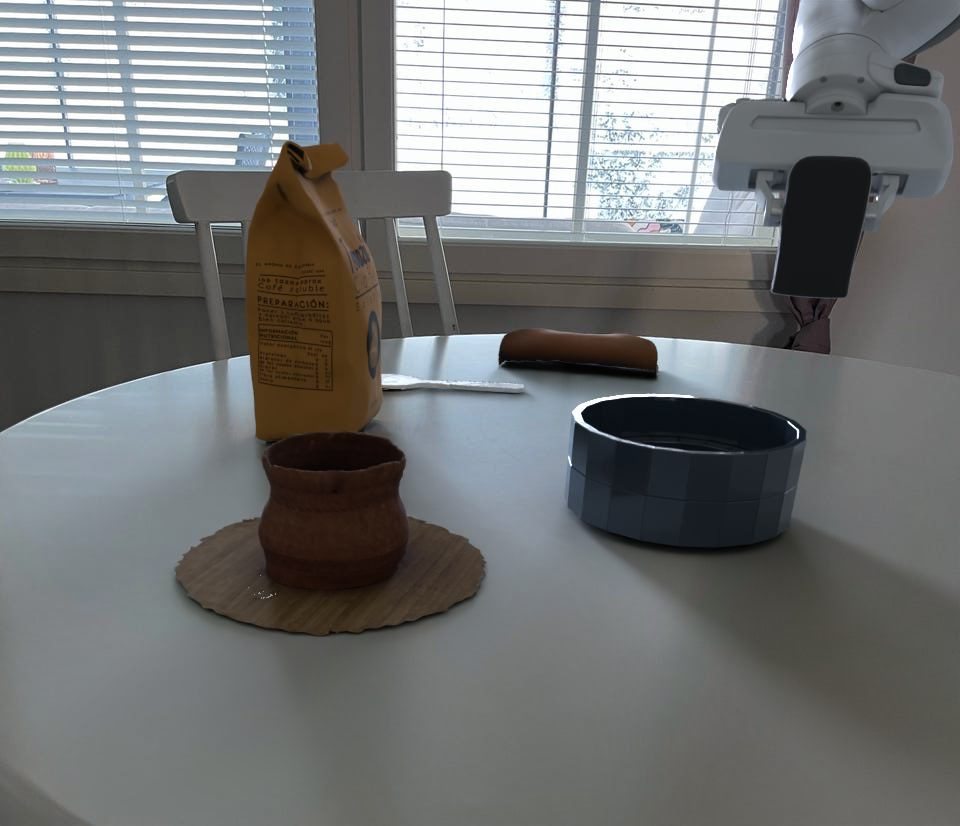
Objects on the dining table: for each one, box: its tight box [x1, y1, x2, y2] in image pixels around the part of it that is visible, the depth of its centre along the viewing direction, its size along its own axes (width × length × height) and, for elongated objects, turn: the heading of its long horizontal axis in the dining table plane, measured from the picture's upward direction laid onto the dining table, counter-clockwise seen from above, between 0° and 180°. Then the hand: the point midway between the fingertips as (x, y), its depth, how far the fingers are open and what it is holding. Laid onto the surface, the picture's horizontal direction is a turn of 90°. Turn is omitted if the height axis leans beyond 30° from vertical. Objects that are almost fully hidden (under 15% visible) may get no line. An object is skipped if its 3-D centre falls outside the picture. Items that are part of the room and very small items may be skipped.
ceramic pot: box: [174, 431, 488, 637], centre depth 53 cm, size 18×18×7 cm
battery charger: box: [770, 155, 872, 299], centre depth 83 cm, size 7×4×11 cm, turn 73°
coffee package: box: [245, 140, 384, 442], centre depth 75 cm, size 10×12×22 cm
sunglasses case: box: [497, 327, 660, 379], centre depth 107 cm, size 18×7×7 cm
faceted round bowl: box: [564, 393, 808, 548], centre depth 63 cm, size 15×15×6 cm
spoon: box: [381, 372, 525, 394], centre depth 96 cm, size 5×18×1 cm, turn 87°
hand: (821, 224), depth 82 cm, fingers closed on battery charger, 7 cm apart
